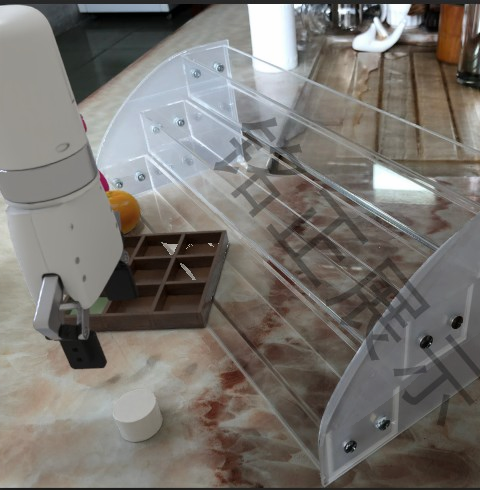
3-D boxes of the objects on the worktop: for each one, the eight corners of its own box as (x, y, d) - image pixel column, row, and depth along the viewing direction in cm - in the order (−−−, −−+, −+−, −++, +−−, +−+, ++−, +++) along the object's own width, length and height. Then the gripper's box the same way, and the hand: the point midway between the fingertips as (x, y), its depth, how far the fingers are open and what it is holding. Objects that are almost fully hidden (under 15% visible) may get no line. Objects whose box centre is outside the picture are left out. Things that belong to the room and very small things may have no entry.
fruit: (149, 194, 103) (114, 170, 97) (150, 233, 98) (113, 210, 92) (113, 215, 105) (76, 193, 99) (112, 254, 100) (74, 233, 94)
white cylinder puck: (114, 442, 63) (105, 423, 62) (127, 408, 67) (119, 389, 65) (156, 441, 63) (149, 421, 61) (167, 407, 67) (160, 388, 65)
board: (58, 332, 79) (52, 318, 78) (108, 249, 96) (103, 235, 94) (204, 327, 78) (200, 312, 76) (229, 243, 94) (226, 229, 93)
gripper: (47, 132, 56) (101, 278, 65) (-57, 230, 41) (31, 400, 51) (125, 126, 55) (168, 274, 64) (47, 224, 41) (117, 397, 50)
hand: (108, 330), depth 57 cm, fingers open, 9 cm apart
